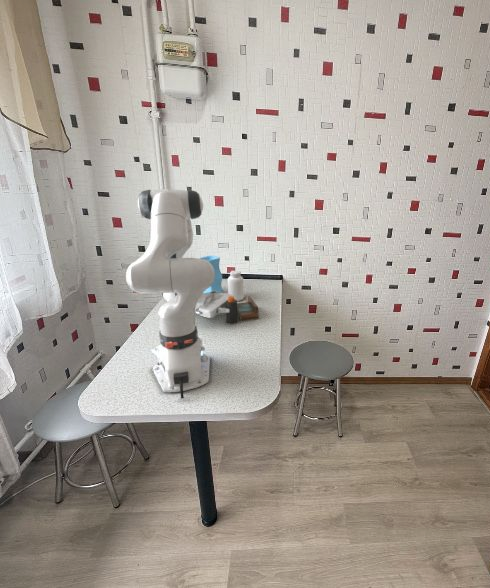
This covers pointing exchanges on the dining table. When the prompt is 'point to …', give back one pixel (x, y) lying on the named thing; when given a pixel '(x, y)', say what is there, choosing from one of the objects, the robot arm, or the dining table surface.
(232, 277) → the pill bottle
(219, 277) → the vase
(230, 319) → the bottle
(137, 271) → the robot arm
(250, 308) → the brown tray
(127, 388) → the dining table surface
